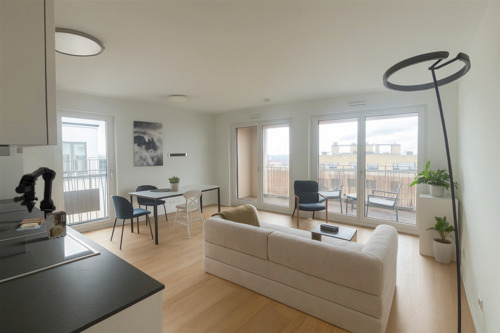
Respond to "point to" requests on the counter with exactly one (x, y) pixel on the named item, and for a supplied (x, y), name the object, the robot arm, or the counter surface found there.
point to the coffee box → (56, 224)
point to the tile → (29, 225)
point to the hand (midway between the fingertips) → (30, 212)
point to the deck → (33, 221)
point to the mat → (29, 228)
